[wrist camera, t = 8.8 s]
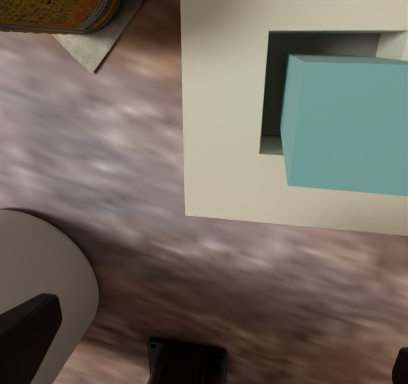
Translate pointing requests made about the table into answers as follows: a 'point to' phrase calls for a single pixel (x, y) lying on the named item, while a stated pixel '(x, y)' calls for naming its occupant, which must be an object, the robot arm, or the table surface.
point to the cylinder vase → (47, 281)
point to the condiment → (72, 23)
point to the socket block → (272, 107)
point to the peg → (345, 123)
